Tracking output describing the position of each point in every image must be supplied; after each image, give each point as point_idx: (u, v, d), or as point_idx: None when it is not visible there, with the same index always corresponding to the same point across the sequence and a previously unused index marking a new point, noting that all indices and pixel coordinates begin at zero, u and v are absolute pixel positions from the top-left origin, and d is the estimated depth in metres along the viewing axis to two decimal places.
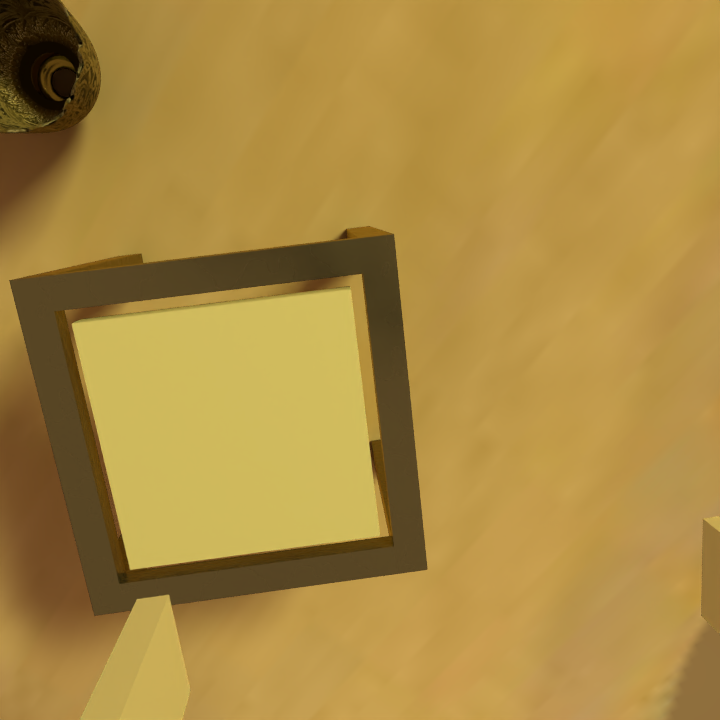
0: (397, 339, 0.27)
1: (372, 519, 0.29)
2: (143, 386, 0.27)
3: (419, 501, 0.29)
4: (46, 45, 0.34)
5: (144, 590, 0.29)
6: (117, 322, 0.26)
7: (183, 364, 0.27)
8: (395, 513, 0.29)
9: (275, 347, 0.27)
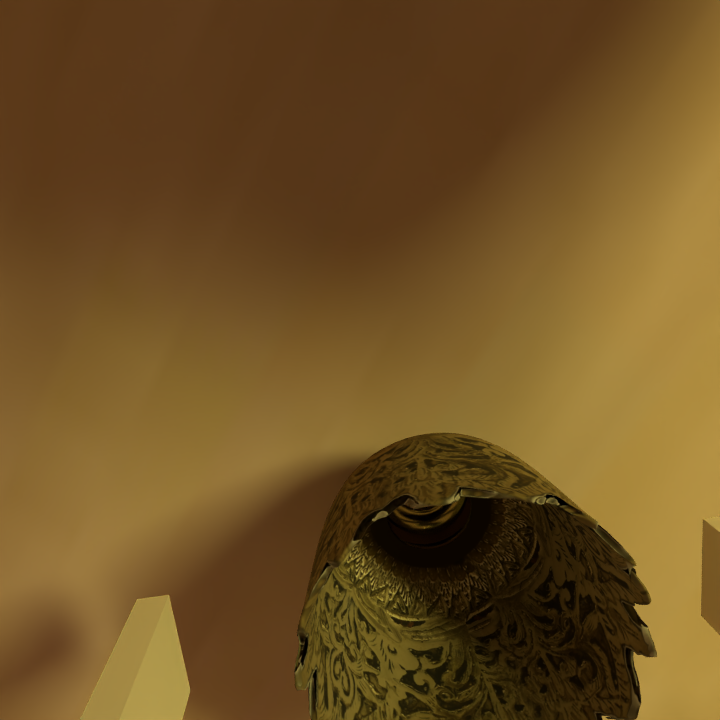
0: None
1: None
2: None
3: None
4: None
5: None
6: None
7: None
8: None
9: None
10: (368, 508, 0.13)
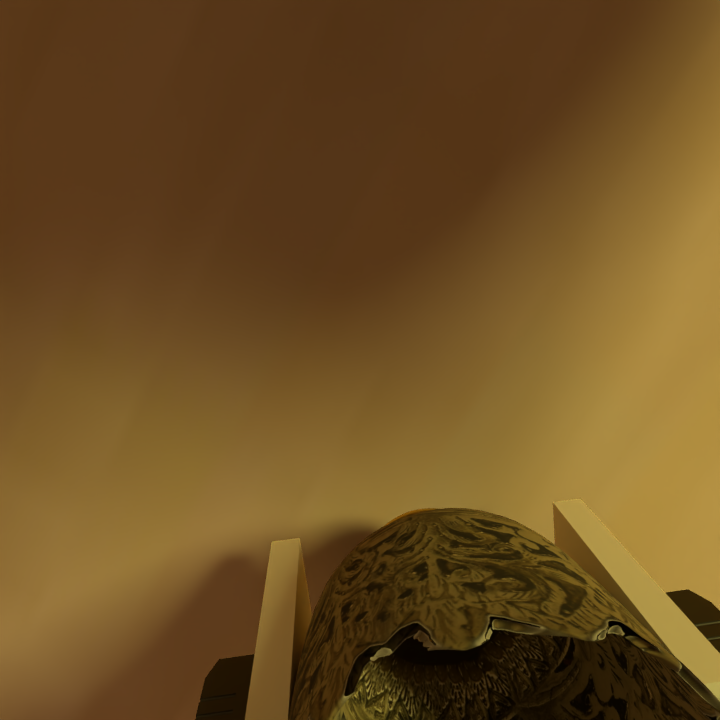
0: None
1: None
2: None
3: None
4: None
5: None
6: None
7: None
8: None
9: None
10: (364, 637, 0.09)
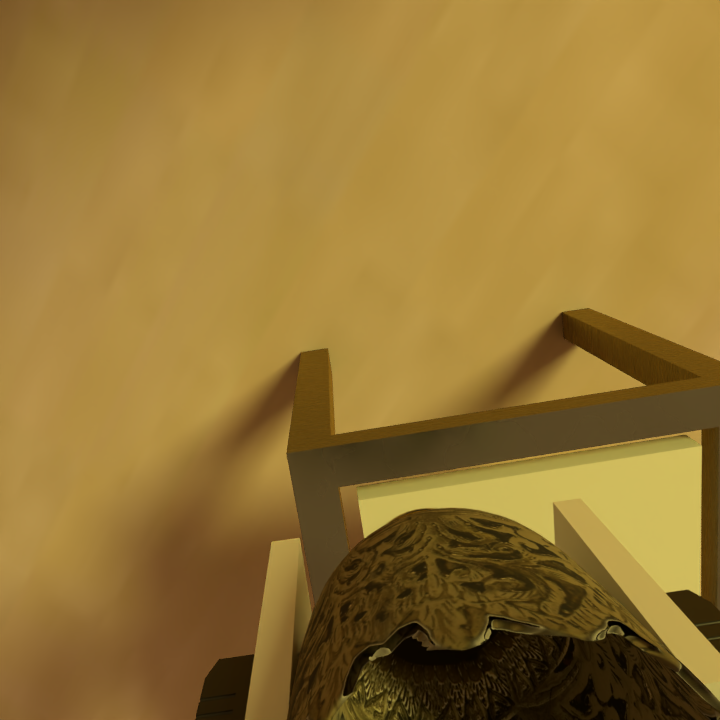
0: None
1: None
2: None
3: None
4: None
5: None
6: (414, 497, 0.21)
7: None
8: None
9: (601, 517, 0.22)
10: (363, 637, 0.09)
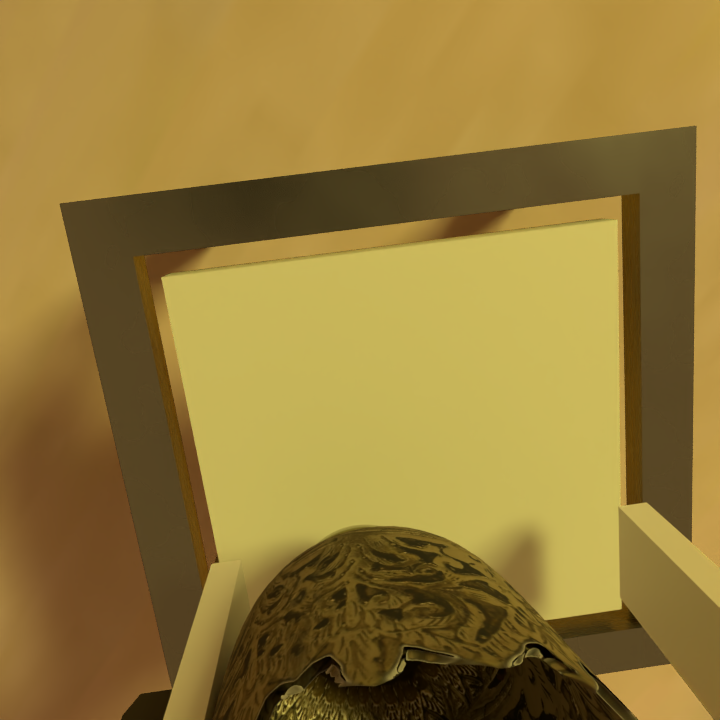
0: (683, 303, 0.17)
1: (612, 585, 0.19)
2: (273, 381, 0.17)
3: None
4: None
5: None
6: (237, 276, 0.16)
7: (339, 345, 0.17)
8: None
9: (487, 317, 0.17)
10: (277, 674, 0.09)
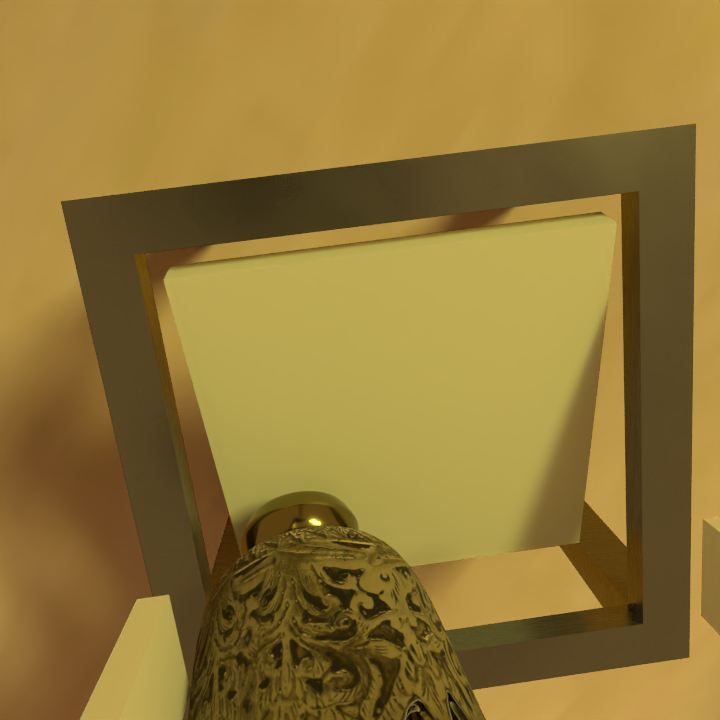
0: (682, 300, 0.17)
1: (573, 525, 0.22)
2: (276, 371, 0.18)
3: (688, 555, 0.19)
4: None
5: None
6: (238, 278, 0.16)
7: (339, 338, 0.17)
8: (650, 574, 0.19)
9: (482, 313, 0.17)
10: None
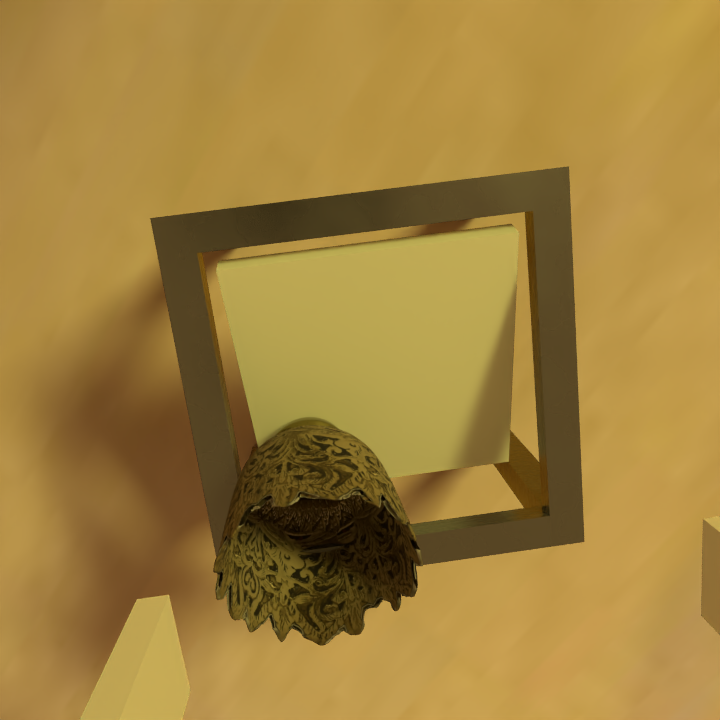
0: (566, 284, 0.25)
1: (503, 448, 0.30)
2: (290, 332, 0.26)
3: (579, 465, 0.27)
4: None
5: None
6: (266, 269, 0.24)
7: (333, 310, 0.25)
8: (553, 479, 0.27)
9: (430, 293, 0.25)
10: (250, 501, 0.21)
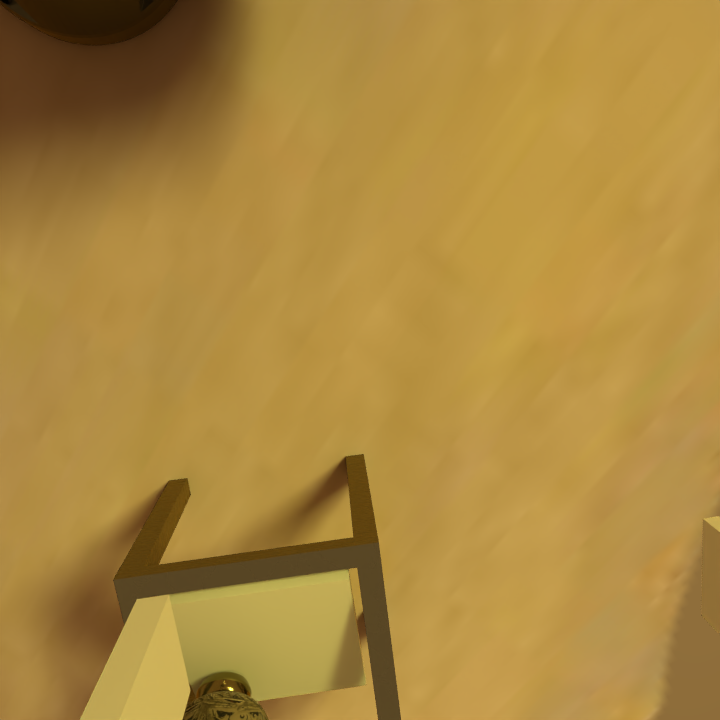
0: (381, 607, 0.39)
1: (361, 678, 0.44)
2: (206, 631, 0.39)
3: (399, 710, 0.41)
4: None
5: None
6: (187, 604, 0.38)
7: (233, 620, 0.39)
8: (381, 719, 0.41)
9: (296, 609, 0.39)
10: None
